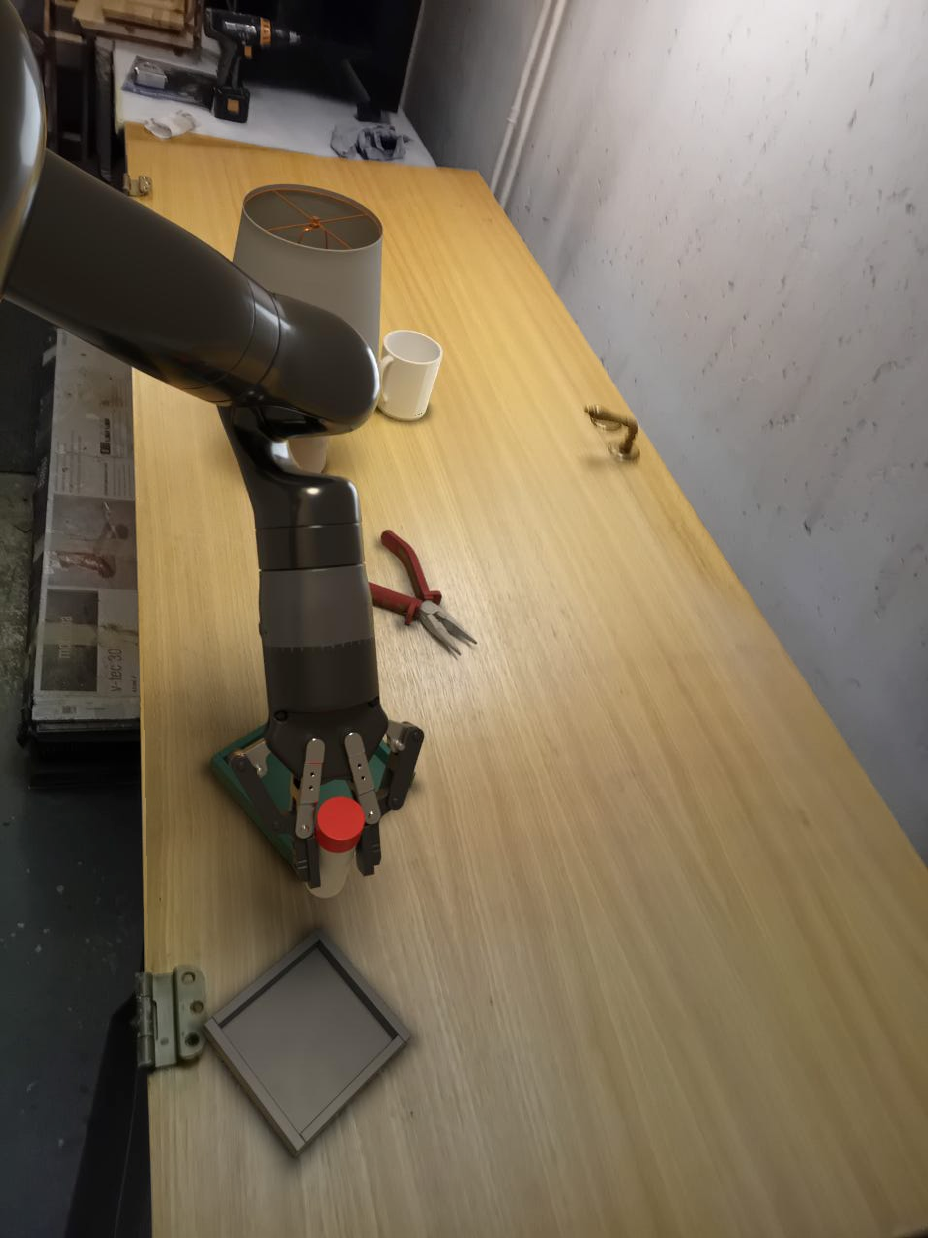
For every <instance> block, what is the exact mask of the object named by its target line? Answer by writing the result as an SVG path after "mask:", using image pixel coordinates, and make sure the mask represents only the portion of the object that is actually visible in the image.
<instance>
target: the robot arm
mask: <svg viewBox="0 0 928 1238" xmlns="http://www.w3.org/2000/svg"><path fill="white" fill-rule="evenodd" d="M34 48H35V47H34V46H33V44H32V42H31V39H30V37H29V35H28V33H27V29H26V27H25V25H24V23H23V21H22V18H21V16H20V14H19V12H18V10H17V8H16V7H15V6H14V4H13V3H12V2H11V0H0V303H1V302H2V300H3V299H4V300H6V301H8V302H11V303H12V304H15V305H17V306H18V307H21V309H24V310H26V311H28V312H29V313H32V314H34V315H36V316H37V317H39V318H40V319H43V320H45V321H47V322H49V323H50V324H52V325H54V326H55V327H57V328H59V329H62V330H64V331H66V332H68V333H69V334H71V335H73V336H75V337H77V338H79V339H80V340H82V341H84V342H86V343H87V344H89V345H91V346H93V347H95V348H97V349H99V350H100V351H102V352H103V353H105V354H107V355H109V356H111V357H113V358H115V359H117V360H119V361H120V362H121V363H123V364H126V365H128V366H130V367H131V368H134V369H135V370H137V371H139V372H141V373H143V374H144V375H146V376H149V377H151V378H153V379H155V380H157V381H159V382H162V383H164V384H166V385H168V386H170V387H172V388H175V389H176V390H179V391H180V392H183V393H186V394H188V395H190V396H192V397H194V398H197V399H199V400H201V401H204V402H206V403H209V404H212V405H215V407H216V409H217V413H218V416H219V419H220V421H221V424H222V426H223V428H224V431H225V434H226V436H227V438H228V441H229V443H230V446H231V449H232V451H233V454H234V458H235V460H236V463H237V466H238V469H239V472H240V475H241V478H242V480H243V483H244V487H245V489H246V493H247V495H248V498H249V502H250V505H251V509H252V512H253V513H252V514H253V519H254V520H253V521H254V533H255V544H256V554H257V555H256V556H257V565H258V570H259V572H258V601H257V602H258V604H257V605H258V618H259V620H258V622H259V623H258V634H259V636H260V639H261V649H262V659H263V668H264V669H263V671H264V680H265V681H264V682H265V689H266V690H265V691H266V698H267V699H266V701H267V711H268V716H267V721H266V723H267V724H266V726H265V728H264V731H263V738H262V739H260V740H258V741H257V742H255V743H253V744H252V745H250V746H248V747H247V748H245V749H243V750H241V749H233V750H231V751H230V752H229V754H228V756H227V760H228V762H229V764H230V766H231V768H232V770H233V772H234V773H235V775H236V777H237V778H238V780H239V782H240V783H241V785H242V787H243V789H244V790H245V792H246V794H247V795H248V797H249V799H250V800H251V802H252V804H253V805H254V807H255V809H256V811H257V812H258V814H259V816H260V817H261V819H262V821H263V822H264V824H265V826H266V827H267V829H268V831H269V832H270V833H271V834H273V835H278V834H280V833H282V834H288V835H290V836H291V840H292V851H293V860H294V861H293V862H294V868H293V870H294V871H295V873H296V874H297V876H298V878H299V880H300V882H301V883H305V884H306V883H307V885H308V887H309V888H310V889H313V888H318V887H321V880H320V869H319V858H318V847H317V839H316V836H315V834H314V832H313V829H314V819H315V810H316V805H317V804H318V800H319V790H320V785H324V784H326V783H328V782H330V781H333V780H345V781H346V783H347V785H348V787H349V790H350V794H351V797H352V799H353V800H354V801H356V802H357V803H358V804H359V805H360V806H361V807H362V809H363V811H364V814H365V824H364V827H363V830H362V834H361V837H360V840H359V842H358V843H357V845H356V848H355V851H354V854H355V863H356V867H357V870H358V872H360V874H361V875H362V877H364V878H365V877H369V876H372V875H375V866H380V864H381V861H382V848H381V847H382V846H381V834H380V833H381V832H380V820H381V819H382V818H383V816H384V815H386V814H388V813H389V812H391V811H399V810H401V809H402V808H403V807H404V805H405V801H406V798H407V795H408V792H409V789H410V787H409V786H410V782H411V779H412V776H413V773H414V772H415V769H416V766H417V762H418V761H419V760H418V759H419V756H420V753H421V750H422V747H423V743H424V740H425V732H424V730H423V729H421V728H420V727H419V726H418V725H416V724H414V723H413V722H410V721H407V720H405V721H402V722H400V721H396V720H392V719H389V717H388V715H387V713H386V712H385V710H384V708H383V706H382V704H381V695H380V693H381V692H380V684H379V683H380V682H379V672H378V671H379V669H378V659H377V658H378V657H377V646H376V645H377V644H376V632H375V619H374V607H373V602H372V596H371V591H370V586H369V582H370V581H369V578H368V572H367V565H366V563H365V562H366V555H365V543H364V542H365V541H364V531H363V529H364V528H363V516H362V515H363V514H362V505H361V498H360V493H359V490H358V488H357V486H356V484H355V483H354V482H353V481H352V480H351V479H349V478H347V477H344V476H340V475H336V474H329V473H323V472H320V473H314V472H309V471H305V470H303V469H302V468H301V467H300V466H299V465H298V463H297V462H296V460H295V458H294V456H293V454H292V452H291V450H290V448H289V442H288V440H292V439H303V438H314V437H323V436H324V437H325V436H329V437H332V436H334V437H335V436H341V435H347V434H349V433H352V432H355V431H357V430H358V429H360V428H361V427H363V426H364V425H365V424H366V423H367V422H368V421H369V420H370V419H371V417H372V416H373V414H374V412H375V411H376V408H377V407H378V406H377V404H378V400H379V396H380V388H381V386H380V373H379V368H378V364H379V363H378V364H377V361H376V358H375V356H374V354H373V352H372V350H371V348H370V346H369V345H368V343H367V342H366V340H365V339H364V337H363V336H362V335H361V334H360V333H359V332H358V330H357V329H356V328H354V327H353V326H352V325H351V324H350V323H349V322H347V321H346V320H344V319H343V318H341V317H339V316H338V315H336V314H334V313H331V312H329V311H327V310H324V309H322V308H319V307H316V306H314V305H311V304H308V303H306V302H303V301H300V300H298V299H295V298H292V297H289V296H285V295H281V294H277V293H273V292H270V291H267V290H266V289H265V288H264V287H262V286H261V285H260V284H259V283H258V282H256V281H255V280H254V279H253V278H251V277H250V276H249V275H248V274H246V273H245V272H244V271H243V270H241V269H240V268H239V267H238V266H236V265H235V264H234V263H233V262H232V260H231V259H229V258H228V257H226V256H225V255H224V254H222V253H221V252H220V251H218V250H217V249H216V248H214V247H213V246H212V245H210V244H209V243H207V242H206V241H204V240H203V239H201V238H199V237H198V236H197V235H195V234H193V233H192V232H190V231H189V230H186V229H185V228H183V227H182V226H180V225H178V224H177V223H176V222H174V221H172V220H170V219H168V218H167V217H165V216H163V215H162V214H160V213H158V212H157V211H155V210H153V209H152V208H150V207H148V206H146V205H145V204H142V203H141V202H140V201H137V200H136V199H135V198H132V197H130V196H129V195H127V194H125V193H123V192H122V191H120V190H118V189H116V188H115V187H112V186H111V185H109V184H108V183H106V182H104V181H103V180H100V179H99V178H97V177H95V176H94V175H91V174H90V173H88V172H87V171H84V170H83V169H81V168H80V167H79V166H77V165H75V164H73V163H72V162H71V161H68V160H67V159H65V158H63V157H62V156H60V155H59V154H57V153H56V152H54V151H52V150H51V149H49V148H48V147H47V137H48V131H47V130H48V128H47V108H46V98H45V91H44V83H43V78H42V74H41V67H40V64H39V61H38V58H37V54H36V51H35V49H34ZM385 736H386V741H385V742H386V744H387V747H388V748H389V749H390V750H391V751H390V754H389V757H388V760H387V763H386V767H385V770H384V773H383V776H382V780H381V783H380V786H379V789H378V791H376V792H375V791H374V790H375V786H374V782H373V779H372V775H371V772H370V768H369V765H368V764H369V762H370V760H371V758H372V756H373V755H374V753H375V751H376V749H377V748H378V746H379V744H380V742H381V740H382V739H383V738H384V737H385ZM383 740H384V739H383ZM270 753H272V754H273V755H274V756H275V757H276V758H277V759H278V760H279V761H280V762H281V763H282V764H283V765H284V766H285V767H286V768H287V769H288V770H289V771H290V772H291V783H290V793H291V799H290V809H289V811H287V810H281V809H278V808H277V806H276V805H275V803H274V801H273V800H272V798H271V796H270V794H269V793H268V791H267V789H266V788H265V786H264V784H263V782H262V781H261V779H260V778H262V777H263V776H265V775H266V773H267V770H268V767H267V764H266V758H267V756H268V755H269V754H270Z"/></svg>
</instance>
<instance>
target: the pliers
mask: <svg viewBox="0 0 928 1238" xmlns="http://www.w3.org/2000/svg"><path fill="white" fill-rule="evenodd" d="M380 541H381V542H382V545H383V546H384V547H385V548H386V549H387V550H389V552H391V553H392V554H394V555H395V557H397V558H398V559H399V560H400V561H401V563H402V564H403V566H404V567H405V570H406V573H407V575H408V578H409V581H410V583H411V587H412V589H413V592H414V595H415V596H410V595H408V594H405V593H402V592H399V591H396V590H393V589H390V588H387V587H385V586H382V585H379V584H376V583H373V582H371V581H368V582H369V586H370V591H371V596H372V604H376V605H378V606H381V607H385V608H387V609H390V610H393V611H396V612H398V613H401V614H404V615H405V620H404V623H405V624H406V625H411V622H412V620H417V619H418V618H419V619H420V621H421V622H422V623H423V625H424V626H425V627H426V628H427V629H428V631H430V633H431V634H433V635H434V636H435V637H436V638H437V639H439V640H440V641H441V642H443V643H444V644H445V645H446V646H447V647H448V648H450V649H451V650H452V651H453V652H455V653H456V654H457V655H458V656H459V657H461V656H462V652H461V651H460V649H459V647H458V645H456V643H455V641H454V640H453V638H452V637H451V634H450V633H453V634H454V635H456V636H458V637H460V638H462V639H464V640H466V641H468V642H469V643H471V644H473V645H478V641H477V640H476V639H475V638H474V637H473V636H472V635H471V634H470V633H469V632H468V631H467V629H465V628H464V627H463V626H462V625H461V624H460V622H458V620H456V618H454V617H453V615H451V614H450V613H449V612H448V611H446V610H445V609H443V608H442V607H440V604H441V601H442V598H443V595H442V593H441V591H440V590H437V589H435V590H430V587H429V585H428V582H427V579H426V575H425V573H424V571H423V568H422V565H421V562H420V560H419V557H418V556H417V553H416V552H415V550H414V548H412V546H411V544H409V543H408V542H407V541H405V540H404V539H403V538H402V537H400V536H399V535H398V534H397V533H395V532H394V531H393V530H390V529H385V530H383V531H382V532H381V534H380ZM449 632H450V633H449Z"/></svg>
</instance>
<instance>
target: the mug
mask: <svg viewBox="0 0 928 1238" xmlns="http://www.w3.org/2000/svg"><path fill="white" fill-rule="evenodd" d="M443 355H444V351H443V347H442V346H441V344H439V343H438V342H437V341H436V340H435V339H433V338H432V337H430V336H428V335H426V334H423V333H421V332H418V331H414V330H408V329H399V330H398V329H397V330H393V331H391V332H388V333H387V334H386V335H384V337H383V340H382V347H381V354H380V361H378V368H379V373H380V386H381V388H380V396H379V400H378V404H377V406H376V407H377V408H378V409H379V410H380V412H381V413H383V414H384V415H385V416H387V417H390V418H391V419H394V420H398V421H402V422H403V421H405V422H410V421H412V422H413V421H417V420H419V419H421V418H422V417H423V416H424V415H425V414H426V412H427V408H428V406H429V402H430V399H431V396H432V392H433V388H434V386H435V383H436V379H437V376H438V372H439V368H440V366H441V363H442V359H443ZM421 413H422V414H421ZM418 414H420V415H418ZM415 415H416V416H415Z"/></svg>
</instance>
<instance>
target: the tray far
mask: <svg viewBox="0 0 928 1238" xmlns="http://www.w3.org/2000/svg"><path fill="white" fill-rule="evenodd" d="M266 724H267V722H265V723H264V724H262V725H260V726H259V727H257V728H255V729H253V730H251V731H250V732H249V733H247V734H245V735H244V736H243V737H241V738H239V739H237V740H236V741H234V742H233V743H230V744H229V745H228V746H226V747H224V748H223V749H220V750H219V751H218V752H216V753H214V754H213V755H211V756H210V769H209V770H210V772H211V773H212V774H213V776H215V778H216V779H217V780H218V782H220V784H221V785H222V786H223V787H224V789H225V790H227V792H228V793H229V795H230V796H231V797H232V798H233V799H234V800H235V801H236V802H237V804H238V805H239V806H240V807H241V808H242V810H243V811H244V812H245V814H247V815H248V817H249V818H250V819H251V820H252V821H253V822H254V824H255V825H256V826H257V827H258V828H259V830H260V831H261V832H262V833H263V834H264V835H265V836H266V837H267V839H268V840H269V841H270V843H272V844H273V846H274V847H275V848H276V850H278V852H279V853H280V854H281V855H282V857H284V859H285V860H286V861H287V862H288V864H289V865H290V866H291V867H292V868H293V869H294V862H293V861H294V860H293V851H292V840H291V836H290V835H288V834H282V833H280V834H278V835H273V834H271V833H270V832H269V831H268V829H267V827H266V826H265V824H264V822H263V821H262V819H261V817H260V816H259V814H258V812H257V811H256V809H255V807H254V805H253V804H252V802H251V800H250V799H249V797H248V795H247V794H246V792H245V790H244V789H243V787H242V785H241V783H240V782H239V780H238V778H237V777H236V775H235V773H234V772H233V770H232V768H231V766H230V764H229V762H228V760H227V756H228V754H229V752H230V751H231V750H233V749H241V750H243V749H245V748H247V747H248V746H250V745H252V744H253V743H255V742H257V741H258V740H260V739H262V738H263V731H264V728H265V726H266ZM386 742H387V741H385V740H384V739H382V740H381V742H380V744H379V746H378V748H377V749H376V751H375V753H374V755H373V756H372V758H371V760H370V762H369V764H368V765H369V768H370V772H371V775H372V779H373V782H374V786H375V790H374V791H375V792H376V791H378V789H379V786H380V783H381V780H382V776H383V773H384V770H385V767H386V763H387V760H388V757H389V754H390V751H391V750H390V749H389V748H388V747H387V744H386ZM266 764H267V767H268V770H267V773H266V775H265V776H263V777H262V778H260V779H261V781H262V782H263V784H264V786H265V788H266V789H267V791H268V793H269V794H270V796H271V798H272V800H273V801H274V803H275V805H276V806H277V808H278V809H281V810H287V811H289V809H290V799H291V793H290V783H291V772H290V771H289V770H288V769H287V768H286V767H285V766H284V765H283V764H282V763H281V762H280V761H279V760H278V759H277V758H276V757H275V756H274V755H273V754H272V753H270V754H269V755H268V756H267V758H266ZM416 773H417V772H415V771H414V773H413V776H412V779H411V782H410V786H409V788H411V787H412V785H413V782H414V779H415V777H416V775H417V774H416ZM334 797H348V798H351V799H352V797H351V794H350V790H349V787H348V785H347V783H346V781H345V780H333V781H330V782H328V783H326V784H324V785H320V790H319V800H318V804H317V805H316V810H315V819H314V828H315V823H316V818H317V814H318V810H319V808H320V807H321V805H322V804H323V803H324V802H326V801H327V800H329V799H331V798H334ZM313 832H314V829H313Z"/></svg>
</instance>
